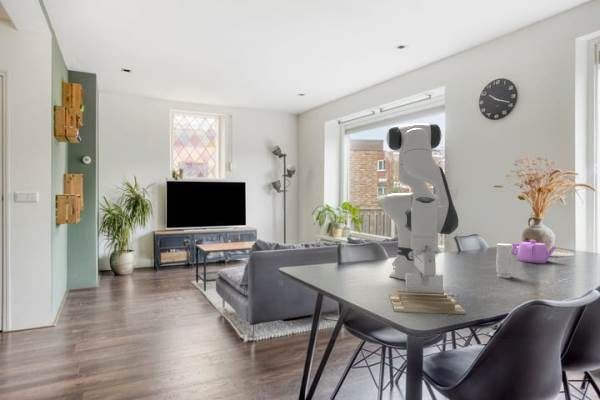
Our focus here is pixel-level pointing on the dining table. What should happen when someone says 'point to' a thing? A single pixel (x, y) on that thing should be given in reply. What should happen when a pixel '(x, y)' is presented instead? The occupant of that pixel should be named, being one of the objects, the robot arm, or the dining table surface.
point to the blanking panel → (416, 285)
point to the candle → (504, 260)
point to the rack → (424, 303)
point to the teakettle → (532, 251)
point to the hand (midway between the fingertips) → (424, 284)
